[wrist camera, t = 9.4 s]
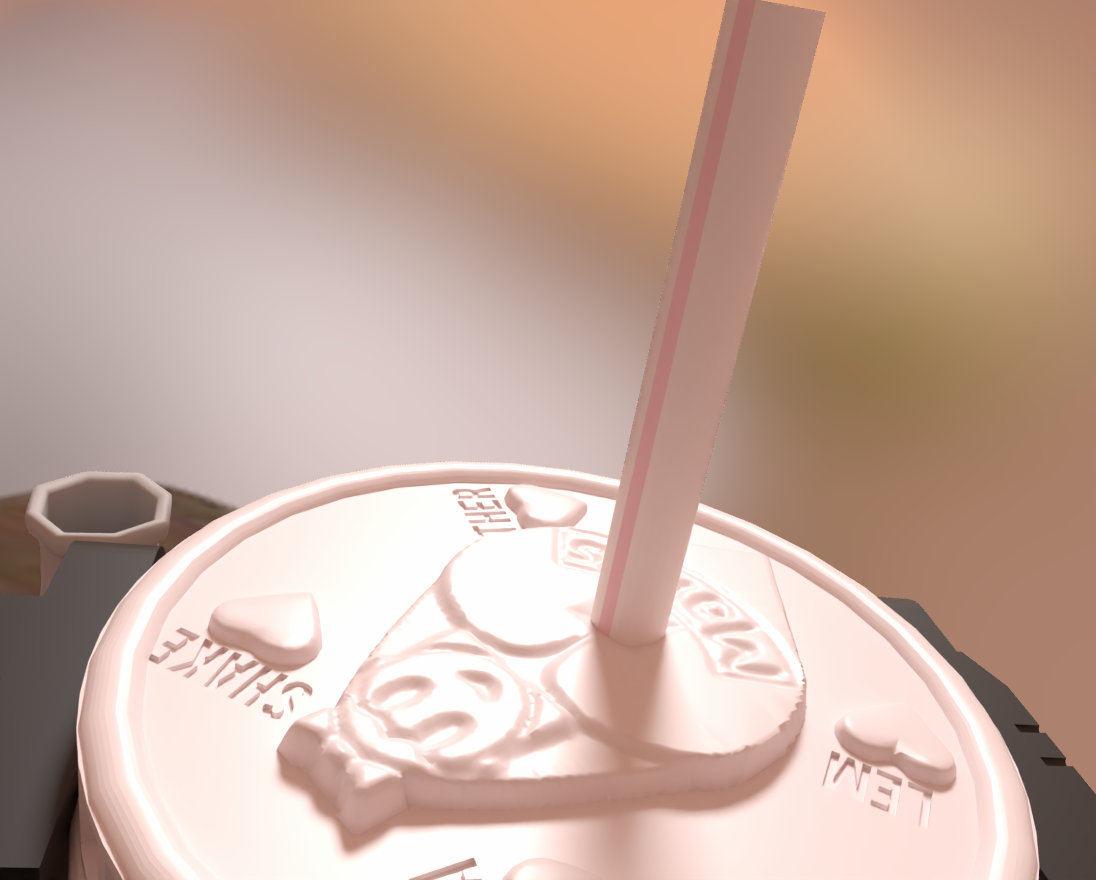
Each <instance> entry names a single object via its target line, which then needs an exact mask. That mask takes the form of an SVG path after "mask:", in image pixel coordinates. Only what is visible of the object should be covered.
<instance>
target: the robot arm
mask: <svg viewBox="0 0 1096 880" xmlns="http://www.w3.org/2000/svg"><path fill="white" fill-rule="evenodd" d="M164 555H166V554H165V550H164V548H163V547H162V546H151V545H137V544H122V543H108V542H93V541H78V540H75V541H73V542H72V543H71V544H70V546H69V547H68V549H67V551H66V553H65V555H64V557H63V559H62V561H61V563H60V564H59V566H58V568H57V570H56V572H55V574H54V576H53V578H52V580H51V582H50V584H49V586H48V588H47V590H46V591H45V593H44V595H43V596H28V595H11V594H0V880H68V867H69V831H70V825H71V821H72V817H73V814H74V810H75V807H76V804H77V800H78V797H79V789H78V753H77V733H76V726H77V716H78V707H79V697H80V691H81V687H82V683H83V679H84V676H85V672H86V668H87V664H88V661H89V659H90V656H91V654H92V652H93V649H94V647H95V645H96V642H97V640H98V638H99V635H100V633H101V631H102V630H103V628H104V626H105V625H106V623H107V621H108V620H109V618H110V617H111V615H112V613H113V612H114V610H115V608H116V607H117V605H118V604H119V603H120V602H121V600H122V599H123V598H124V597H125V595H126V594H127V593H128V592H129V590H130V589H131V588H132V587H133V585H134V584H135V583H136V582H137V581H138V580H139V579H140V578H141V577H142V576H143V575H144V574H145V573H146V572H147V571H148V570H149V569H150V568H151V567H152V566H153V565H154V564H155V563H156V562H157V561H158V560H159V559H161V558H162V557H163V556H164ZM877 598H878V599H880V600H881V601H882V602H883V603H885V604H886V605H887V606H888V607H890V608H891V609H892V610H893V611H895V612H896V613H897V614H898V615H900V616H901V617H902V618H903V619H904V620H906V621H907V622H908V623H909V624H911V625H912V626H913V627H914V628H916V629H917V630H918V632H919V633H920V634H921V635H922V636H923V637H924V638H925V639H926V640H927V641H928V642H929V643H930V644H931V645H932V646H933V647H934V648H935V649H936V650H937V652H938V653H939V654H940V655H941V656H942V657H943V658H944V659H945V660H946V661H947V662H948V663H949V664H950V665H951V666H952V667H953V668H954V669H955V670H956V671H957V673H958V674H959V675H960V676H961V677H962V678H963V679H964V681H965V682H966V684H967V685H968V687H969V688H970V690H971V691H972V692H973V694H974V695H975V697H976V698H977V700H978V701H979V702H980V704H981V705H982V706H983V708H984V709H985V710H986V712H987V714H988V715H989V717H990V718H991V720H992V722H993V723H994V725H995V726H996V728H997V729H998V731H999V732H1000V734H1001V736H1002V738H1003V740H1004V742H1005V744H1006V746H1007V748H1008V750H1009V752H1010V754H1011V756H1012V758H1013V760H1014V762H1015V764H1016V766H1017V768H1018V771H1019V774H1020V776H1021V779H1022V782H1023V785H1024V787H1025V790H1026V793H1027V796H1028V798H1029V802H1030V807H1031V811H1032V815H1033V820H1034V824H1035V828H1036V834H1037V845H1038V856H1039V879H1038V880H1096V794H1095V793H1094V792H1093V790H1091V788H1090V787H1089V786H1088V784H1087V783H1086V782H1085V781H1084V779H1083V778H1082V777H1081V776H1080V775H1079V773H1078V772H1077V771H1076V770H1075V768H1074V767H1073V766H1071V767H1070V766H1066V763H1065V760H1066V757H1065V756H1064V755H1063V754H1062V753H1061V751H1060V750H1059V749H1058V748H1057V746H1056V745H1055V744H1054V743H1053V742H1052V740H1051V739H1050V738H1049V737H1048V736H1047V734H1046V733H1040V732H1039V725H1038V723H1037V722H1036V721H1035V720H1034V718H1033V717H1032V716H1031V715H1030V714H1029V712H1028V711H1027V710H1026V709H1025V707H1024V706H1023V705H1022V704H1021V702H1020V701H1019V700H1018V699H1017V698H1016V697H1015V695H1014V694H1013V693H1012V692H1011V690H1010V689H1009V688H1008V687H1007V686H1006V685H1005V684H1003V683H1002V682H1001V681H1000V680H998V679H997V678H996V677H994V676H993V675H992V674H990V673H989V672H987V671H986V670H985V669H983V668H982V667H981V666H979V665H978V664H977V663H976V662H974V661H973V660H971V659H970V658H969V657H968V656H966V655H965V654H964V653H962V652H957V651H956V650H955V649H954V648H953V646H952V645H951V644H950V642H949V641H948V640H947V639H946V637H945V636H944V635H943V633H942V632H941V631H940V630H939V629H938V627H937V626H936V625H935V623H934V622H933V621H932V620H931V618H930V617H929V616H928V614H927V613H926V612H925V611H924V609H923V608H922V607H921V606H920V605H919V604H918V603H916V602H915V601H913V600H910V599H900V598H885V597H877Z"/></svg>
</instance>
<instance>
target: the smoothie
mask: <svg viewBox="0 0 1096 880" xmlns="http://www.w3.org/2000/svg"><path fill="white" fill-rule="evenodd" d="M825 14H826V13H825V12H821V11H815V10H810V9H804V8H799V7H794V6H788V5H783V4H777V3H772V2H767V1H761V0H726V4H725V9H724V13H723V18H722V22H721V27H720V31H719V36H718V40H717V45H716V50H715V54H714V58H713V63H712V67H711V72H710V77H709V81H708V86H707V90H706V95H705V99H704V104H703V108H702V113H701V117H700V122H699V126H698V131H697V136H696V140H695V145H694V150H693V154H692V158H691V163H690V167H689V172H688V176H687V181H686V185H685V190H684V195H683V199H682V204H681V208H680V213H679V218H678V222H677V226H676V231H675V236H674V240H673V244H672V249H671V253H670V258H669V263H668V268H667V272H666V276H665V281H664V285H663V290H662V294H661V299H660V303H659V308H658V313H657V317H656V322H655V327H654V331H653V335H652V340H651V344H650V349H649V354H648V358H647V363H646V367H645V372H644V376H643V381H642V385H641V390H640V394H639V399H638V403H637V408H636V412H635V417H634V421H633V426H632V431H631V435H630V440H629V444H628V449H627V453H626V458H625V463H624V467H623V471H622V476H621V480H617V479H612V478H607V477H603V476H597V475H593V474H588V473H582V472H578V471H573V470H566V469H556V468H548V467H539V466H531V465H522V464H513V463H485V462H483V463H482V462H436V463H421V464H407V465H393V466H384V467H379V468H373V469H367V470H362V471H356V472H351V473H345V474H340V475H334V476H328V477H324V478H321V479H318V480H315V481H311V482H308V483H305V484H302V485H299V486H295V487H292V488H289V489H286V490H282V491H279V492H276V493H273V494H269V495H267V496H265V497H263V498H261V499H259V500H257V501H254V502H252V503H250V504H248V505H246V506H244V507H242V508H240V509H237V510H235V511H233V512H231V513H229V514H227V515H225V516H223V517H221V518H218V519H216V520H214V521H212V522H211V523H209V524H208V525H207V526H205V527H204V528H202V529H201V530H199V531H198V532H196V533H195V534H193V535H192V536H190V537H189V538H187V539H185V540H184V541H182V542H181V543H180V544H179V545H177V546H176V547H175V548H173V549H172V550H171V551H170V552H168V553H167V554H166V555H164V556H163V557H162V558H161V559H159V560H158V561H157V562H156V563H155V564H154V565H153V566H152V567H151V568H150V569H149V570H148V571H147V572H146V573H145V574H144V575H143V576H142V577H141V578H140V579H139V580H138V581H137V582H136V583H135V584H134V585H133V587H132V588H131V589H130V590H129V592H128V593H127V594H126V595H125V597H124V598H123V599H122V600H121V602H120V603H119V604H118V605H117V607H116V608H115V610H114V612H113V613H112V615H111V617H110V618H109V620H108V621H107V623H106V625H105V626H104V628H103V630H102V631H101V633H100V635H99V638H98V640H97V642H96V645H95V647H94V649H93V652H92V654H91V656H90V659H89V661H88V664H87V668H86V672H85V676H84V679H83V683H82V687H81V691H80V697H79V707H78V716H77V726H76V733H77V753H78V789H79V797H78V800H77V804H76V807H75V810H74V814H73V817H72V821H71V825H70V831H69V867H68V880H1038V879H1039V856H1038V845H1037V834H1036V828H1035V824H1034V820H1033V815H1032V811H1031V807H1030V802H1029V798H1028V796H1027V793H1026V790H1025V787H1024V785H1023V782H1022V779H1021V776H1020V774H1019V771H1018V768H1017V766H1016V764H1015V762H1014V760H1013V758H1012V756H1011V754H1010V752H1009V750H1008V748H1007V746H1006V744H1005V742H1004V740H1003V738H1002V736H1001V734H1000V732H999V731H998V729H997V728H996V726H995V725H994V723H993V722H992V720H991V718H990V717H989V715H988V714H987V712H986V710H985V709H984V708H983V706H982V705H981V704H980V702H979V701H978V700H977V698H976V697H975V695H974V694H973V692H972V691H971V690H970V688H969V687H968V685H967V684H966V682H965V681H964V679H963V678H962V677H961V676H960V675H959V674H958V673H957V671H956V670H955V669H954V668H953V667H952V666H951V665H950V664H949V663H948V662H947V661H946V660H945V659H944V658H943V657H942V656H941V655H940V654H939V653H938V652H937V650H936V649H935V648H934V647H933V646H932V645H931V644H930V643H929V642H928V641H927V640H926V639H925V638H924V637H923V636H922V635H921V634H920V633H919V632H918V630H917V629H916V628H914V627H913V626H912V625H911V624H909V623H908V622H907V621H906V620H904V619H903V618H902V617H901V616H900V615H898V614H897V613H896V612H895V611H893V610H892V609H891V608H890V607H888V606H887V605H886V604H885V603H883V602H882V601H881V600H880V599H878V598H877V597H876V596H875V595H873V594H872V593H871V592H870V591H868V590H867V589H866V588H865V587H863V586H862V585H860V584H858V583H857V582H855V581H854V580H852V579H850V578H849V577H847V576H846V575H844V574H843V573H841V572H840V571H838V570H836V569H835V568H833V567H832V566H830V565H829V564H826V563H825V562H824V561H822V560H821V559H819V558H818V557H816V556H814V555H813V554H811V553H810V552H808V551H806V550H803V549H802V548H800V547H798V546H796V545H794V544H792V543H790V542H788V541H786V540H784V539H782V538H780V537H778V536H776V535H774V534H772V533H770V532H768V531H766V530H764V529H762V528H760V527H758V526H756V525H754V524H752V523H749V522H747V521H744V520H742V519H739V518H737V517H734V516H732V515H729V514H726V513H724V512H721V511H719V510H716V509H714V508H711V507H708V506H706V505H703V504H701V503H699V501H700V497H701V494H702V490H703V486H704V482H705V478H706V474H707V470H708V466H709V462H710V459H711V455H712V451H713V447H714V443H715V439H716V436H717V431H718V428H719V424H720V420H721V416H722V412H723V408H724V404H725V401H726V397H727V393H728V389H729V385H730V381H731V377H732V373H733V370H734V366H735V362H736V358H737V354H738V350H739V346H740V342H741V339H742V335H743V331H744V327H745V323H746V319H747V315H748V312H749V308H750V304H751V300H752V296H753V292H754V288H755V284H756V281H757V277H758V273H759V269H760V265H761V261H762V257H763V254H764V250H765V246H766V242H767V238H768V234H769V230H770V226H771V223H772V219H773V215H774V211H775V207H776V203H777V199H778V195H779V191H780V188H781V184H782V180H783V176H784V172H785V168H786V165H787V161H788V157H789V153H790V149H791V145H792V141H793V137H794V134H795V129H796V126H797V122H798V118H799V114H800V110H801V106H802V102H803V98H804V95H805V91H806V87H807V83H808V79H809V75H810V71H811V68H812V64H813V60H814V56H815V52H816V48H817V45H818V40H819V37H820V33H821V29H822V25H823V21H824V17H825Z"/></svg>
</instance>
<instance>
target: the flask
mask: <svg viewBox="0 0 1096 880" xmlns="http://www.w3.org/2000/svg"><path fill="white" fill-rule="evenodd" d="M171 505H172V495H171V494H170V493H169V492H167V491H166V490H164V489H163V488H162V487H160V486H159V485H157V484H156V483H155V482H153V481H152V480H150V479H149V478H147V477H146V476H144V475H143V474H142V473H119V472H87V471H86V472H82V473H78V474H75V475H72V476H67V477H64V478H61V479H57V480H53V481H49V482H46V483H43V484H39V485H35V486H34V489H33V492H32V494H31V497H30V500H29V503H28V506H27V509H26V512H25V524H26V527H27V530H28V532H29V533H30V534H31V535H33V536H34V537H35V538H36V539H37V540H39V544H40V549H41V591H40V596H43V595H44V593H45V591H46V590H47V588H48V586H49V584H50V582H51V580H52V578H53V576H54V574H55V572H56V570H57V568H58V566H59V564H60V563H61V561H62V559H63V557H64V555H65V553H66V551H67V549H68V547H69V546H70V544H71V543H72V542H73V541H75V540H78V541H93V542H108V543H122V544H137V545H151V546H159V543H160V542H163V541H164V540H165V539H166V537H167V534H168V531H169V522H170V514H171Z"/></svg>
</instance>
